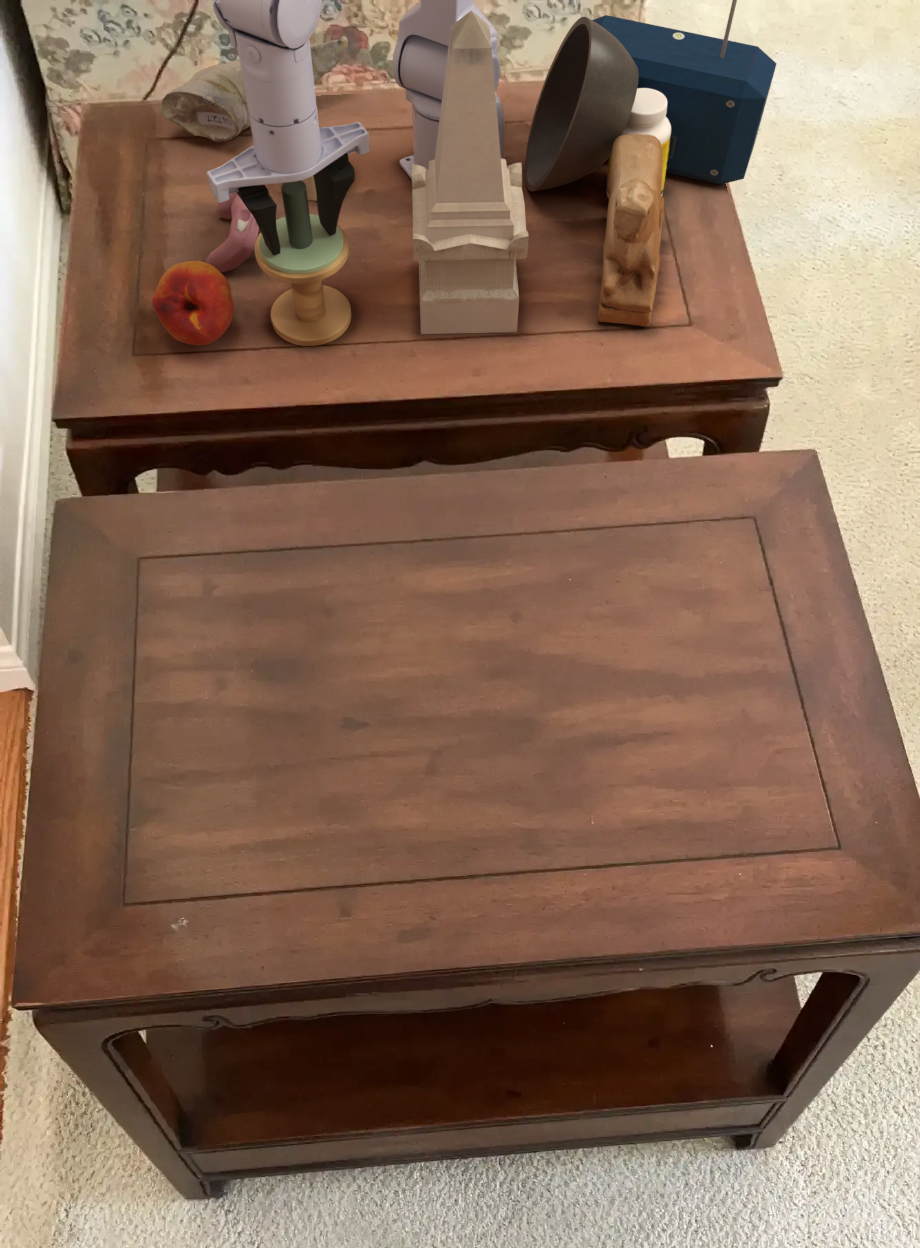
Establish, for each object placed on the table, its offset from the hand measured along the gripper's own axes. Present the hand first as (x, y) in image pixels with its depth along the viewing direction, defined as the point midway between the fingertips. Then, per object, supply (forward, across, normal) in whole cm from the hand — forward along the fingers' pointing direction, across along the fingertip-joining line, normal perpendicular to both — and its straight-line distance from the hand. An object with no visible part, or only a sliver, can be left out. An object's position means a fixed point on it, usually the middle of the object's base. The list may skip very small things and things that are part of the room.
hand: (300, 238), depth 107 cm
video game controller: (+10, +2, -13) cm, 17 cm away
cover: (+1, 0, 0) cm, 1 cm away
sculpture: (+10, -32, +10) cm, 35 cm away
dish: (+10, -10, -19) cm, 23 cm away
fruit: (+10, +10, -3) cm, 15 cm away
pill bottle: (+10, -39, 0) cm, 40 cm away
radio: (+10, -45, -5) cm, 46 cm away
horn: (+8, -10, -28) cm, 31 cm away
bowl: (+1, -36, -2) cm, 36 cm away
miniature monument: (+10, -15, +5) cm, 19 cm away
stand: (+10, 0, 0) cm, 10 cm away
